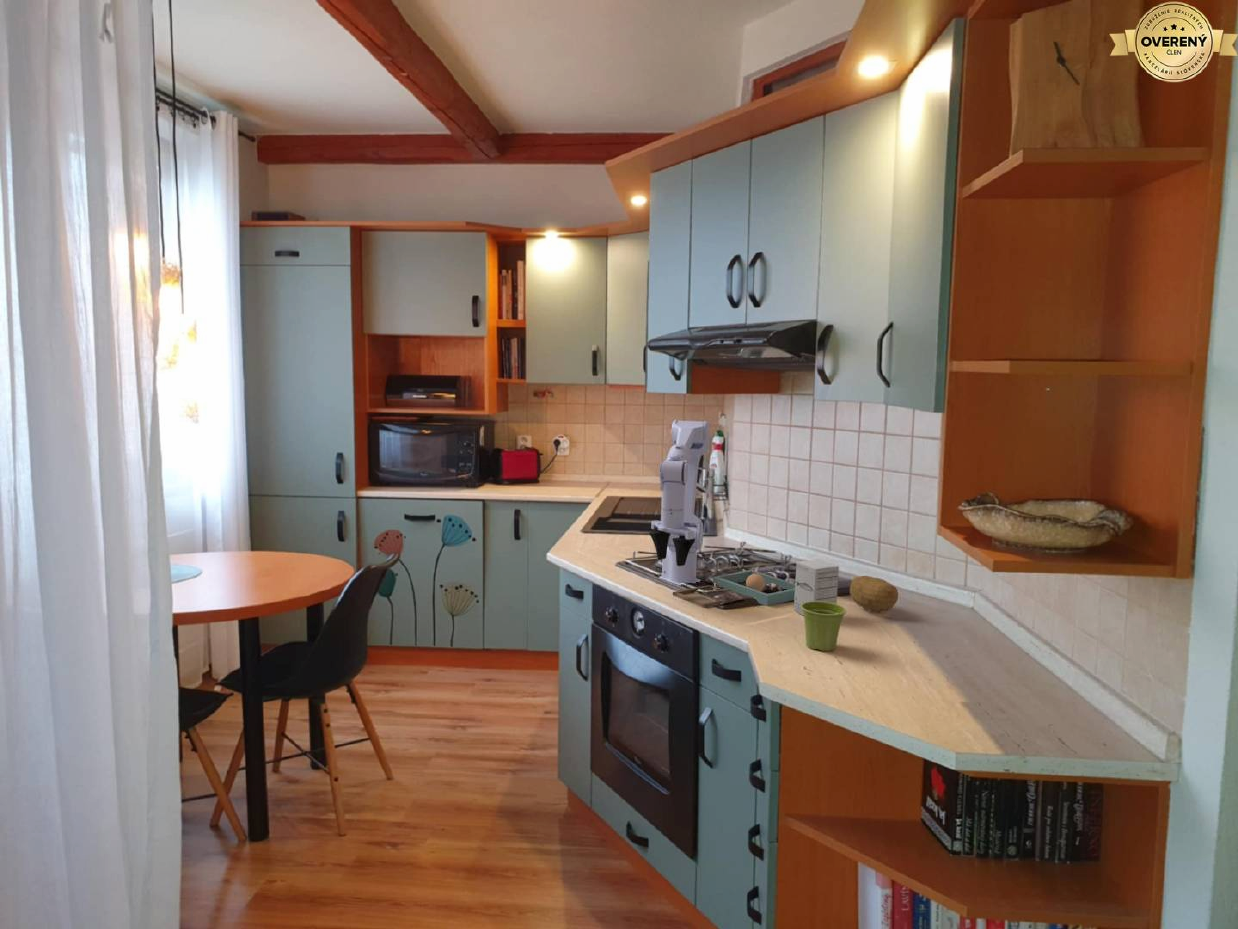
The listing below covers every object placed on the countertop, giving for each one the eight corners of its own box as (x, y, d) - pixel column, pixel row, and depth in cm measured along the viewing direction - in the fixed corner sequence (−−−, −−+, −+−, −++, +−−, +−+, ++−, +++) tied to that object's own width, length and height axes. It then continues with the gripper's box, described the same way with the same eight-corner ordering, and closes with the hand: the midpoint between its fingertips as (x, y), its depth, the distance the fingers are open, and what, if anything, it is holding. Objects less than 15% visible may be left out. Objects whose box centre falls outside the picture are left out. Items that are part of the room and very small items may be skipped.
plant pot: (826, 637, 183) (828, 599, 181) (853, 651, 174) (855, 611, 173) (790, 641, 179) (792, 603, 178) (815, 656, 170) (817, 616, 169)
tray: (712, 587, 219) (713, 576, 219) (750, 580, 227) (751, 569, 227) (766, 607, 203) (767, 595, 203) (805, 598, 211) (806, 587, 211)
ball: (741, 592, 215) (742, 573, 215) (756, 589, 218) (756, 571, 218) (754, 596, 211) (755, 577, 211) (769, 593, 214) (769, 574, 213)
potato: (869, 600, 211) (871, 569, 210) (907, 616, 198) (909, 584, 197) (837, 603, 208) (839, 572, 207) (874, 620, 195) (876, 587, 194)
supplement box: (792, 612, 200) (795, 561, 198) (816, 608, 204) (819, 558, 202) (812, 621, 194) (815, 568, 192) (837, 617, 197) (840, 565, 195)
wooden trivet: (672, 596, 211) (672, 592, 210) (709, 589, 218) (709, 585, 218) (705, 609, 200) (705, 604, 200) (743, 601, 208) (743, 597, 208)
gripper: (642, 505, 208) (641, 558, 210) (678, 515, 196) (677, 570, 198) (664, 502, 212) (662, 554, 214) (701, 512, 200) (699, 566, 202)
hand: (671, 562), depth 206 cm, fingers open, 7 cm apart
